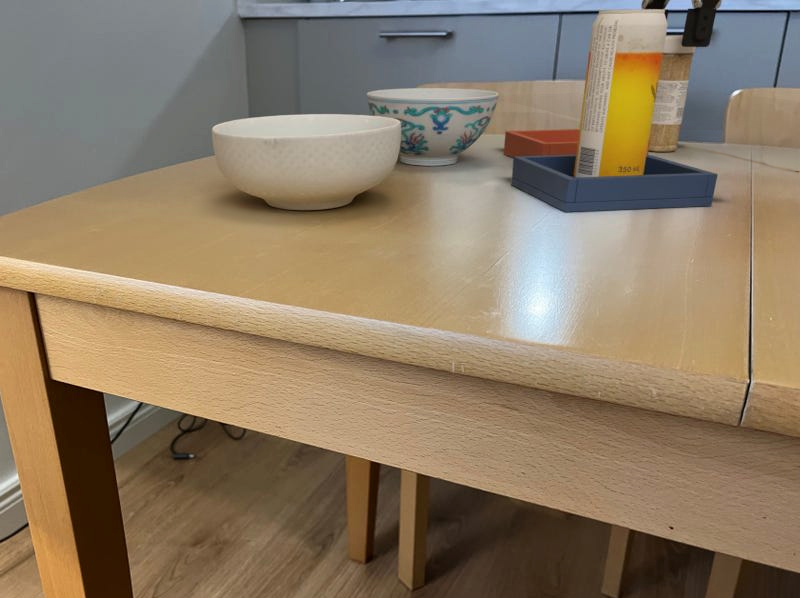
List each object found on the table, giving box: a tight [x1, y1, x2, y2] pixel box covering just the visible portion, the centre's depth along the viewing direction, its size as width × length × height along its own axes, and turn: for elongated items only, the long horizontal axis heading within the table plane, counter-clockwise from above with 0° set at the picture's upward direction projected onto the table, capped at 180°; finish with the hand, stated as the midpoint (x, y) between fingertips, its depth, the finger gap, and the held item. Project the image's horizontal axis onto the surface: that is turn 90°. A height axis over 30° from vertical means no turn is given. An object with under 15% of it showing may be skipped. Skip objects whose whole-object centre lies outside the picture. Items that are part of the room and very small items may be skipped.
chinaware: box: [366, 87, 499, 167], centre depth 88 cm, size 15×15×8 cm
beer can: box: [574, 9, 669, 177], centre depth 68 cm, size 6×6×15 cm
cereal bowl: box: [211, 113, 401, 211], centre depth 68 cm, size 17×17×7 cm
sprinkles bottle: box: [648, 34, 697, 153], centre depth 93 cm, size 5×5×14 cm
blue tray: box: [510, 153, 718, 213], centre depth 70 cm, size 14×13×3 cm
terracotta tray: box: [503, 128, 650, 159], centre depth 89 cm, size 13×12×3 cm
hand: (671, 45), depth 91 cm, fingers open, 9 cm apart
